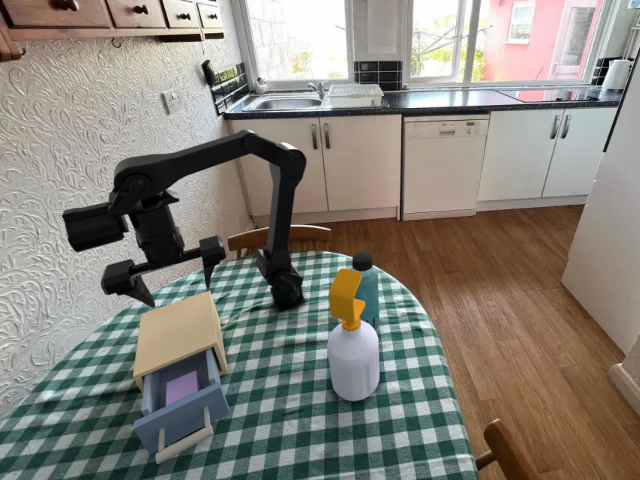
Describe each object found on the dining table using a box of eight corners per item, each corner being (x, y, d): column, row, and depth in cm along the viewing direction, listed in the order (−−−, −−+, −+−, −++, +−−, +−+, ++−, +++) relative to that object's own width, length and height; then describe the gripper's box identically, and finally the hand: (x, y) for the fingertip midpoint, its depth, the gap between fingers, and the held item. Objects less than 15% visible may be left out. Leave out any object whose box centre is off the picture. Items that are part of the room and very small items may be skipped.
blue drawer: (233, 439, 49) (223, 413, 47) (147, 488, 44) (129, 462, 41) (220, 349, 64) (212, 325, 61) (154, 377, 59) (141, 352, 56)
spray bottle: (385, 363, 62) (384, 264, 51) (369, 409, 54) (362, 303, 44) (344, 351, 64) (335, 254, 54) (323, 393, 57) (306, 289, 46)
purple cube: (202, 386, 56) (196, 369, 54) (204, 407, 53) (197, 391, 51) (174, 399, 54) (166, 382, 52) (174, 422, 51) (165, 406, 49)
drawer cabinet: (228, 372, 61) (217, 341, 57) (150, 408, 55) (132, 376, 51) (219, 318, 73) (210, 290, 69) (154, 343, 67) (141, 313, 63)
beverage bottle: (366, 312, 74) (363, 242, 65) (386, 329, 69) (385, 255, 61) (345, 328, 70) (338, 255, 61) (364, 347, 65) (360, 271, 57)
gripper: (210, 199, 65) (227, 259, 72) (96, 224, 57) (128, 290, 63) (216, 221, 57) (235, 288, 63) (83, 255, 48) (121, 328, 55)
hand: (182, 296), depth 61 cm, fingers open, 9 cm apart
